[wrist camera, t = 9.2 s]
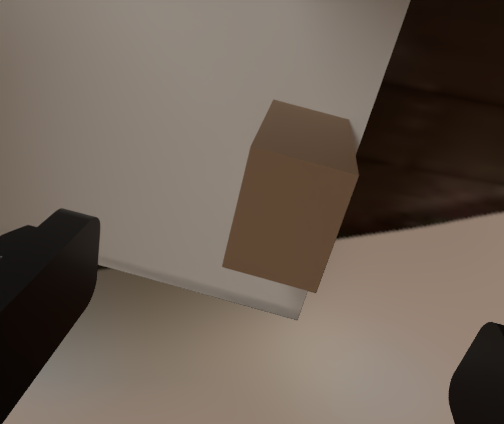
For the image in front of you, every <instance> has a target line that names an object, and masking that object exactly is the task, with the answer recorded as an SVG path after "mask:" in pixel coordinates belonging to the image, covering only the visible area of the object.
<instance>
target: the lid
mask: <svg viewBox="0 0 504 424" xmlns="http://www.w3.org/2000/svg"><path fill="white" fill-rule="evenodd" d="M409 3H410V0H0V236H1V235H2V234H5V233H8V232H10V231H13V230H15V229H18V228H21V227H23V226H26V225H31V226H35V227H38V226H39V225H40V224H41V223H42V222H44V221H45V220H46V219H47V218H48V217H49V216H51V215H52V214H53V213H54V212H55V211H57V210H58V209H60V208H64V209H67V210H71V211H75V212H79V213H83V214H86V215H90V216H94V217H97V218H98V219H99V220H100V241H99V255H98V265H101V266H105V267H109V268H112V269H116V270H119V271H123V272H126V273H130V274H134V275H138V276H141V277H144V278H148V279H151V280H155V281H159V282H162V283H166V284H170V285H173V286H176V287H180V288H184V289H187V290H191V291H194V292H198V293H201V294H205V295H209V296H212V297H216V298H219V299H223V300H226V301H230V302H234V303H238V304H241V305H244V306H248V307H251V308H255V309H259V310H262V311H266V312H270V313H273V314H277V315H280V316H284V317H287V318H291V319H294V320H298V317H299V314H300V312H301V309H302V306H303V303H304V300H305V297H306V295H307V292H308V291H310V292H314V293H316V292H317V289H318V287H319V284H320V281H321V278H322V276H323V273H324V270H325V267H326V265H327V262H328V259H329V256H330V254H331V251H332V248H333V245H334V243H335V240H336V237H337V234H338V232H339V229H340V226H341V223H342V221H343V218H344V215H345V213H346V210H347V207H348V204H349V202H350V199H351V196H352V193H353V191H354V188H355V185H356V182H357V180H358V177H359V173H358V167H357V162H356V153H357V150H358V148H359V145H360V142H361V139H362V136H363V133H364V131H365V128H366V125H367V122H368V119H369V116H370V114H371V111H372V108H373V105H374V102H375V99H376V97H377V94H378V91H379V88H380V85H381V82H382V80H383V77H384V74H385V71H386V68H387V66H388V63H389V60H390V57H391V54H392V51H393V49H394V46H395V43H396V40H397V37H398V34H399V32H400V29H401V26H402V23H403V20H404V17H405V15H406V12H407V9H408V6H409Z"/></svg>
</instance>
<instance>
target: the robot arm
mask: <svg viewBox="0 0 504 424" xmlns="http://www.w3.org/2000/svg"><path fill="white" fill-rule="evenodd" d="M99 241H100V220H99V219H98V218H97V217H94V216H90V215H86V214H83V213H79V212H75V211H71V210H67V209H64V208H60V209H58V210H57V211H55V212H54V213H53V214H52V215H51V216H49V217H48V218H47V219H46V220H45V221H44V222H42V223H41V224H40V225H39V226H38V227H35V226H31V225H26V226H23V227H21V228H18V229H15V230H13V231H10V232H8V233H5V234H2V235H1V236H0V424H2V423H3V422H4V420H5V419H6V418H7V416H8V415H9V413H10V412H11V411H12V409H13V408H14V407H15V405H16V404H17V402H18V401H19V400H20V398H21V397H22V396H23V394H24V393H25V391H26V390H27V389H28V387H29V386H30V385H31V383H32V382H33V380H34V379H35V378H36V376H37V375H38V374H39V372H40V371H41V369H42V368H43V367H44V365H45V364H46V363H47V361H48V359H49V358H50V357H51V356H52V354H53V353H54V351H55V350H56V349H57V347H58V346H59V345H60V343H61V342H62V340H63V339H64V337H65V336H66V335H67V334H68V332H69V331H70V329H71V328H72V327H73V325H74V324H75V322H76V321H77V320H78V318H79V317H80V316H81V314H82V313H83V312H84V310H85V309H86V307H87V306H88V304H89V302H90V300H91V297H92V295H93V292H94V289H95V285H96V280H97V269H98V255H99ZM449 405H450V409H451V412H452V415H453V419H454V422H455V424H504V325H501V324H497V323H493V322H488V323H486V324H485V325H483V327H482V328H481V329H480V331H479V332H478V334H477V336H476V337H475V339H474V341H473V342H472V344H471V346H470V348H469V349H468V351H467V352H466V354H465V356H464V357H463V359H462V361H461V363H460V364H459V366H458V367H457V369H456V371H455V373H454V374H453V376H452V379H451V382H450V387H449Z"/></svg>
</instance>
